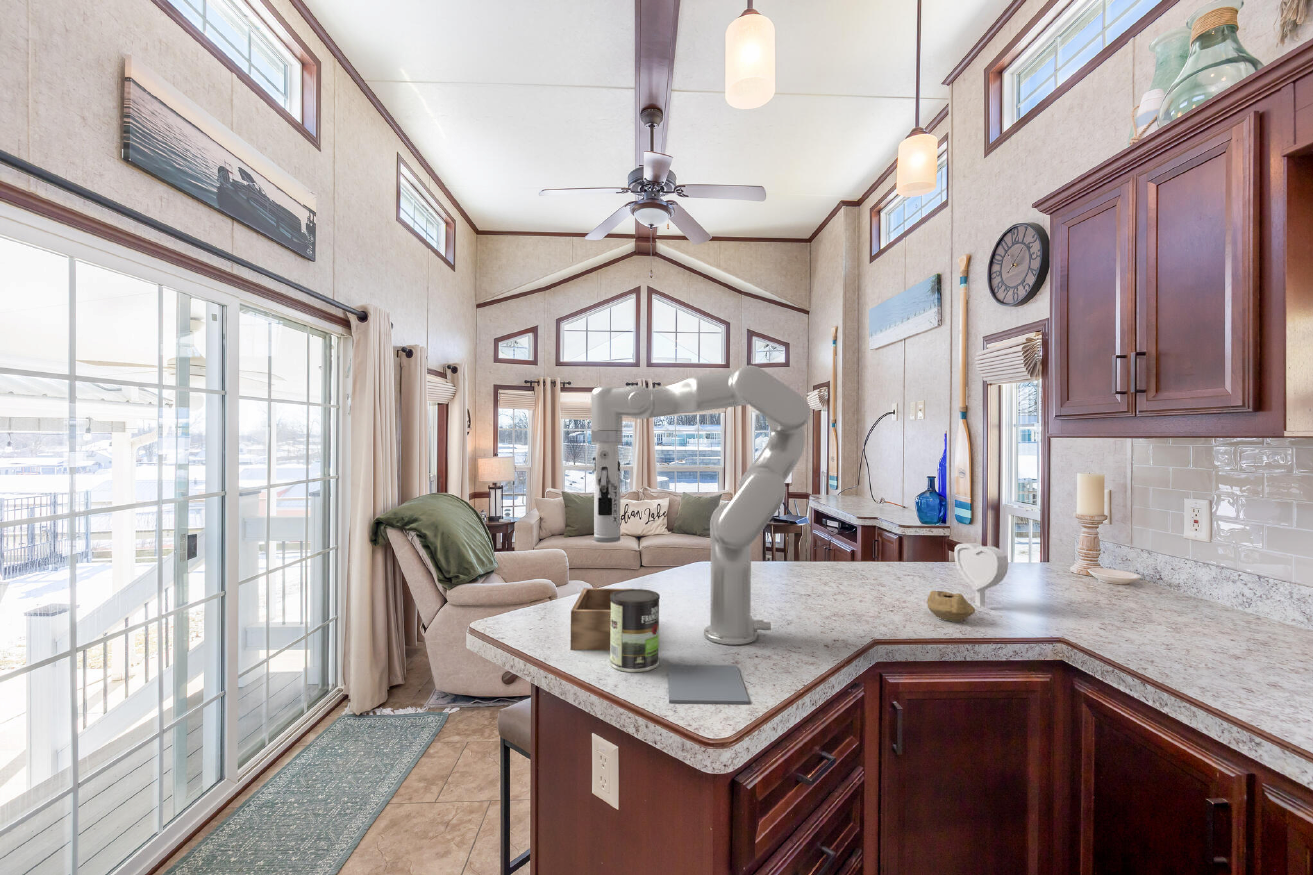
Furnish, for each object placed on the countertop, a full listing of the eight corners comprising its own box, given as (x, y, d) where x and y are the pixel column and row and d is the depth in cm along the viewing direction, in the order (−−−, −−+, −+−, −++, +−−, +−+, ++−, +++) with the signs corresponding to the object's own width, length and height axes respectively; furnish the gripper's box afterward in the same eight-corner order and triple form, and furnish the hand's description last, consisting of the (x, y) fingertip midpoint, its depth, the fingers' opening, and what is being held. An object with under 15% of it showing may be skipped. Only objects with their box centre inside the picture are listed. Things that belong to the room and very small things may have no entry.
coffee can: (668, 660, 116) (668, 592, 117) (641, 676, 108) (641, 604, 108) (628, 650, 122) (628, 586, 122) (599, 665, 113) (600, 596, 113)
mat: (736, 667, 112) (736, 665, 112) (749, 703, 96) (749, 700, 96) (668, 666, 113) (668, 664, 113) (669, 702, 97) (669, 699, 97)
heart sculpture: (952, 601, 163) (951, 540, 164) (966, 600, 165) (966, 540, 165) (995, 617, 148) (995, 550, 149) (1010, 616, 150) (1010, 549, 150)
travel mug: (593, 538, 135) (593, 457, 136) (620, 538, 136) (620, 457, 136) (592, 543, 129) (592, 457, 129) (620, 542, 129) (620, 457, 130)
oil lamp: (944, 608, 156) (944, 580, 156) (986, 625, 142) (986, 594, 142) (910, 610, 154) (910, 582, 154) (949, 628, 139) (949, 596, 139)
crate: (634, 622, 142) (634, 588, 142) (629, 650, 122) (629, 611, 122) (583, 621, 142) (583, 588, 142) (570, 649, 122) (570, 610, 122)
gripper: (619, 437, 124) (619, 517, 124) (624, 439, 141) (624, 509, 141) (586, 437, 124) (586, 517, 124) (595, 439, 141) (595, 509, 141)
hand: (606, 512), depth 132 cm, fingers closed on travel mug, 6 cm apart
